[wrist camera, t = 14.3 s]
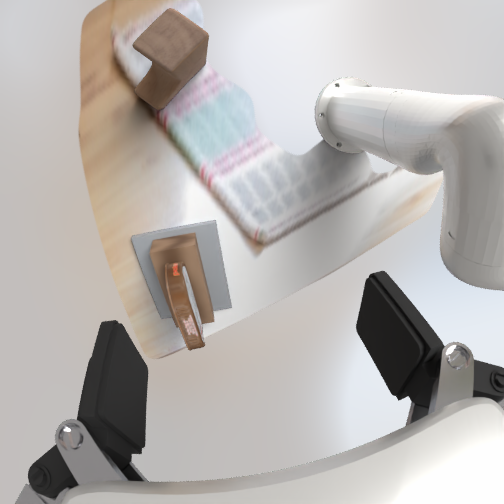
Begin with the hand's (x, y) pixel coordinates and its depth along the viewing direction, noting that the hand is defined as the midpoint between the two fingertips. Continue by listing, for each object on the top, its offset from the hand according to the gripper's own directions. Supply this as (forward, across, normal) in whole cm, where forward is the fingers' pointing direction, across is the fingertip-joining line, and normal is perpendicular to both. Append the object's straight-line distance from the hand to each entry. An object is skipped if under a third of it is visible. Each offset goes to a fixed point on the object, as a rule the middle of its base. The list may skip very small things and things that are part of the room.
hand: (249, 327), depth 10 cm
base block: (+32, +8, +20) cm, 39 cm away
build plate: (+33, +8, +20) cm, 40 cm away
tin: (+28, +8, +20) cm, 36 cm away
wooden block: (+34, +4, -12) cm, 36 cm away
